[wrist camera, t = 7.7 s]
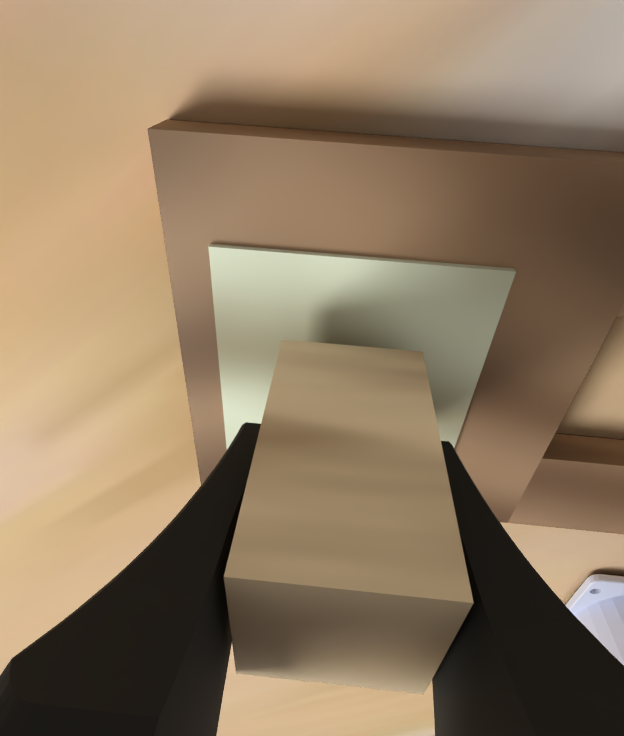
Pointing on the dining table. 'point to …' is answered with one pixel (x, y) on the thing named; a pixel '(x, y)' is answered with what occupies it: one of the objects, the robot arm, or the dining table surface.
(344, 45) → the dining table surface
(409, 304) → the pocket board
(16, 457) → the dining table surface
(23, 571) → the dining table surface
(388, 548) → the maple block
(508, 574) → the robot arm
